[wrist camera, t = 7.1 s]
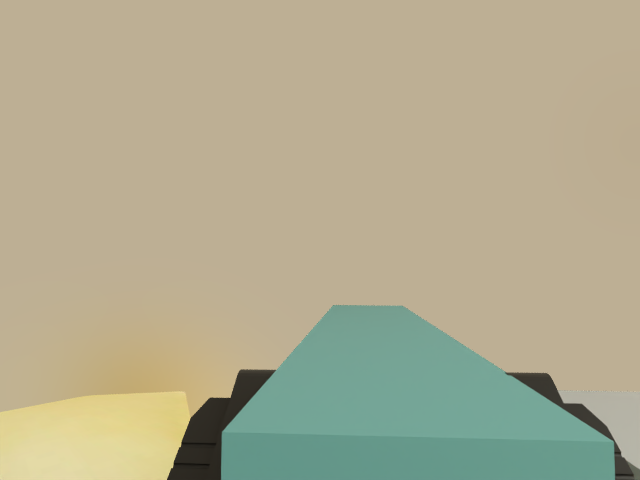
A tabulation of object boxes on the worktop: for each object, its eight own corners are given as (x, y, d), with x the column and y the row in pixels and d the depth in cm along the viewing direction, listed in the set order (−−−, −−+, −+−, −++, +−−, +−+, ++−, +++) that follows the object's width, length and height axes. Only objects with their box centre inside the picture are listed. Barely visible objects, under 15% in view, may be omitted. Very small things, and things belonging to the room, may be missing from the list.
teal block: (628, 870, 5) (614, 441, 5) (214, 838, 5) (221, 431, 6) (403, 376, 31) (402, 305, 31) (333, 375, 31) (333, 305, 32)
